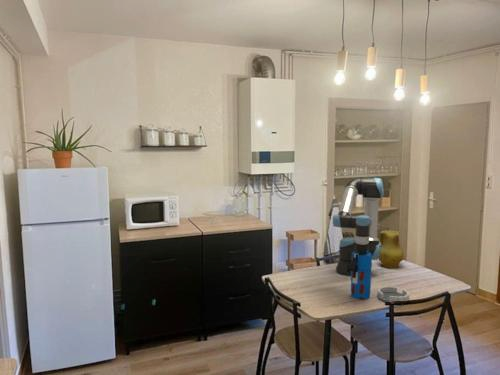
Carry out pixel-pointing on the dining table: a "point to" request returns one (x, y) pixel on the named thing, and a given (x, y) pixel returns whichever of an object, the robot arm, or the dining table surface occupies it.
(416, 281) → the dining table surface
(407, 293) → the bayonet base
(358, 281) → the thermos
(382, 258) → the pitcher
